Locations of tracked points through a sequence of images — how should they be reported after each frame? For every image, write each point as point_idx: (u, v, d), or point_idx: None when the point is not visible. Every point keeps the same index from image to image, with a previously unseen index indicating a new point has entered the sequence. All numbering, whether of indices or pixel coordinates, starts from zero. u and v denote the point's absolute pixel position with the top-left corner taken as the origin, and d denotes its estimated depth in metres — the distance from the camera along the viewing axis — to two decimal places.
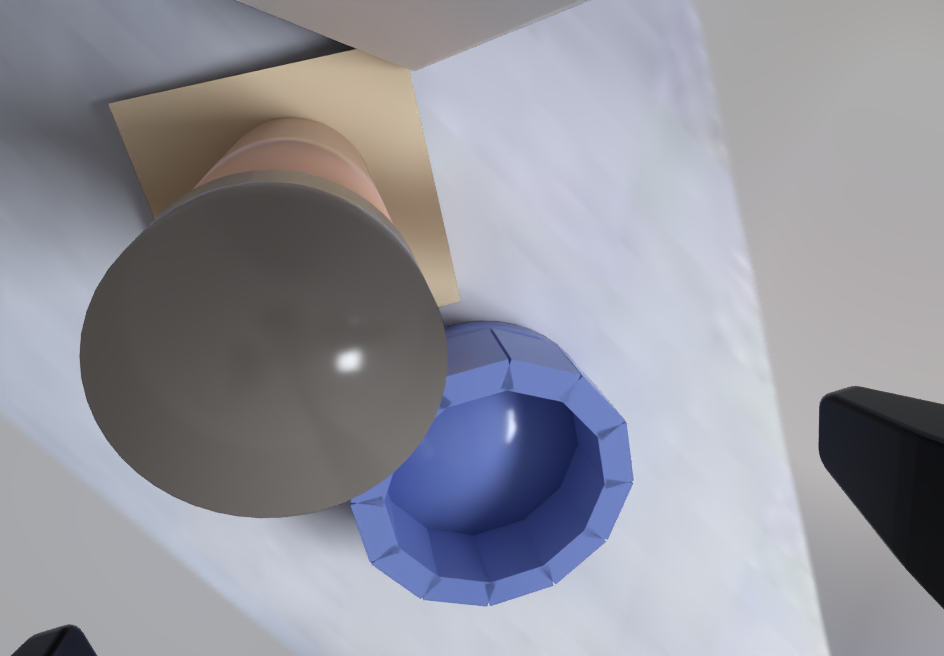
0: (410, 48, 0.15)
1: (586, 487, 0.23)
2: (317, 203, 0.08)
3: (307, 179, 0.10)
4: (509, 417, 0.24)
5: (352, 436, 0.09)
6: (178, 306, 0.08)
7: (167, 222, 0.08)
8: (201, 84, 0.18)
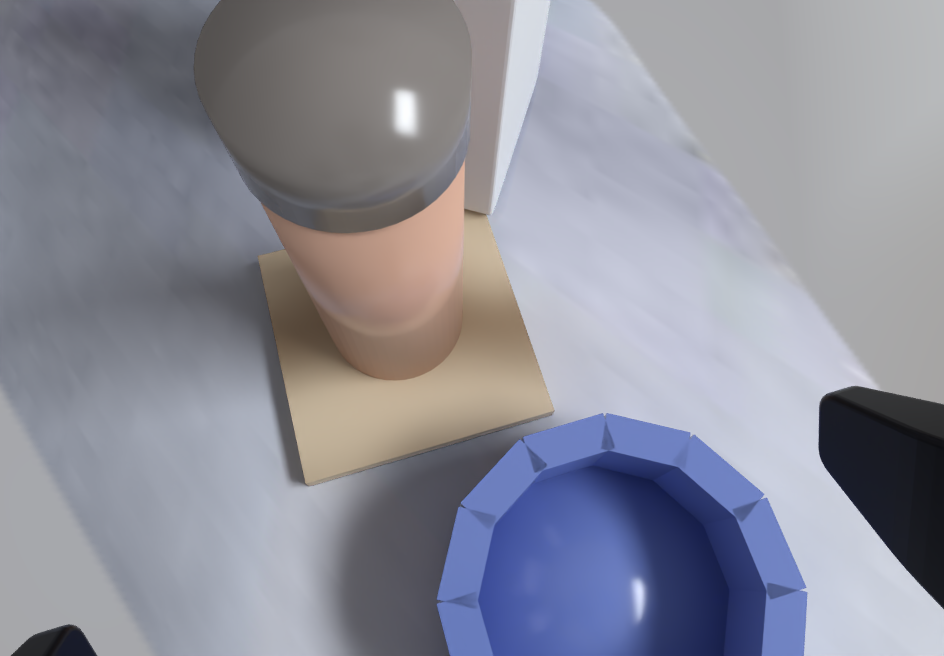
0: (475, 124, 0.20)
1: (749, 621, 0.18)
2: None
3: None
4: (630, 546, 0.20)
5: (393, 102, 0.11)
6: (271, 10, 0.12)
7: None
8: None
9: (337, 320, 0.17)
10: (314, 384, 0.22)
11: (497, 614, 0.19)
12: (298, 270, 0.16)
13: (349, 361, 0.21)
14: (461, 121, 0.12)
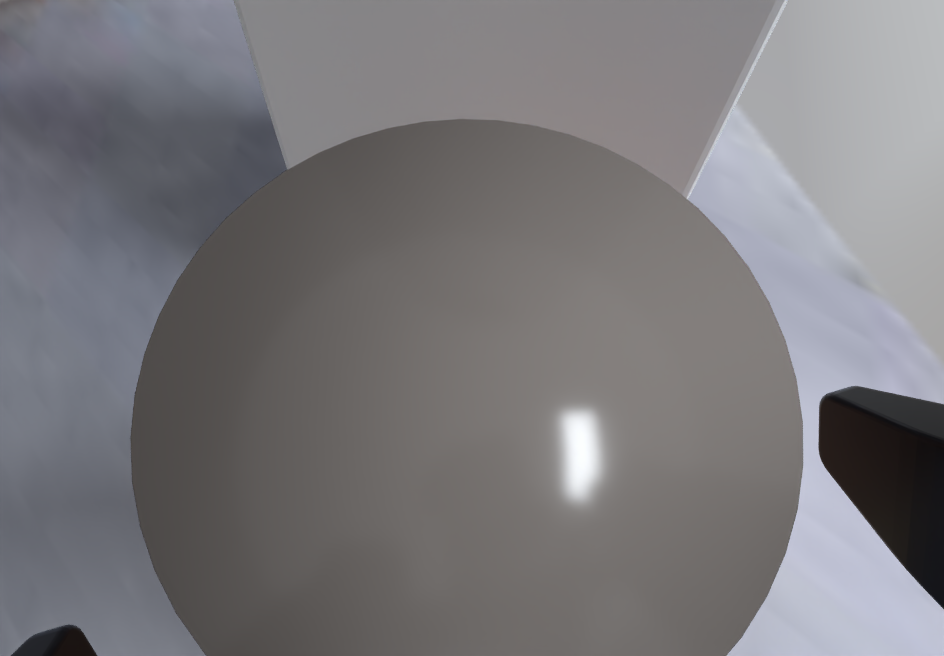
0: None
1: None
2: (533, 128, 0.06)
3: None
4: None
5: (627, 538, 0.04)
6: (317, 271, 0.05)
7: (322, 153, 0.05)
8: None
9: None
10: None
11: None
12: None
13: None
14: None
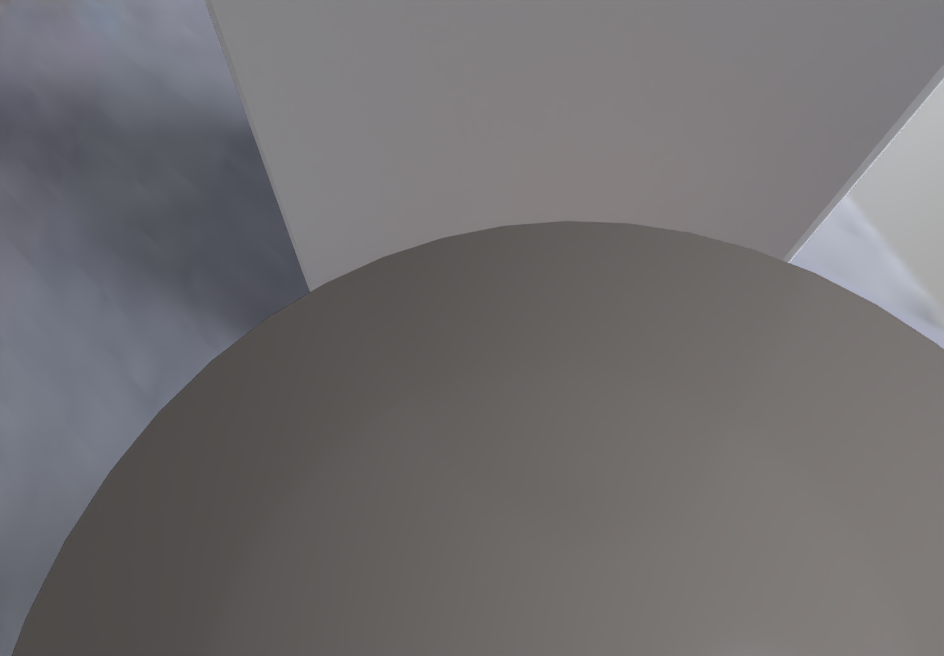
0: None
1: None
2: (688, 236, 0.03)
3: None
4: None
5: None
6: (323, 521, 0.03)
7: (329, 285, 0.03)
8: None
9: None
10: None
11: None
12: None
13: None
14: None
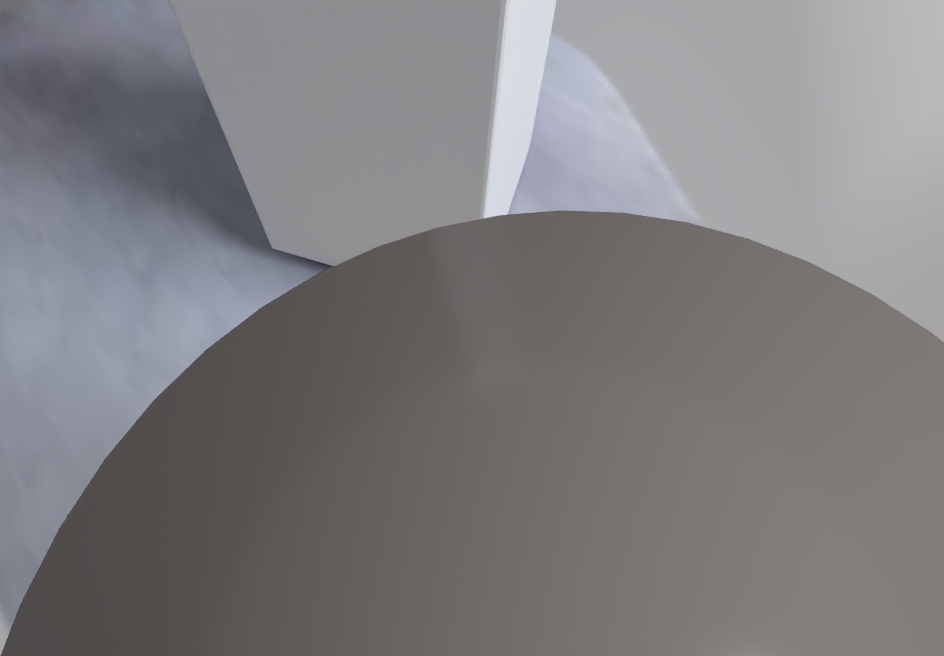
0: None
1: None
2: (683, 226, 0.03)
3: None
4: None
5: None
6: (318, 509, 0.03)
7: (325, 274, 0.03)
8: None
9: None
10: None
11: None
12: None
13: None
14: None
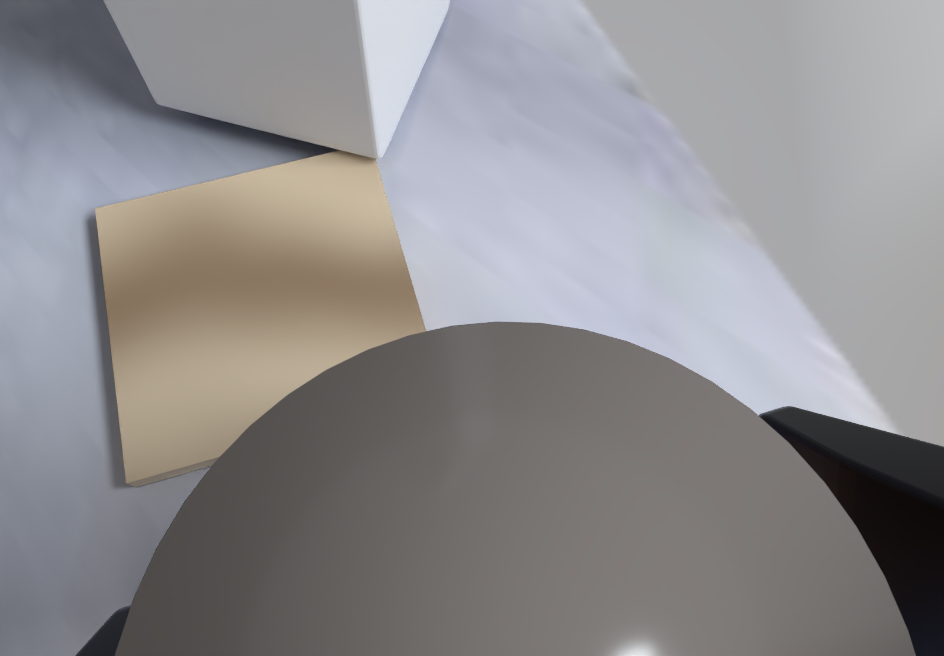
0: (332, 30, 0.16)
1: None
2: (582, 332, 0.05)
3: None
4: None
5: None
6: (325, 535, 0.04)
7: (330, 371, 0.05)
8: (182, 189, 0.19)
9: None
10: (148, 361, 0.18)
11: None
12: None
13: None
14: None
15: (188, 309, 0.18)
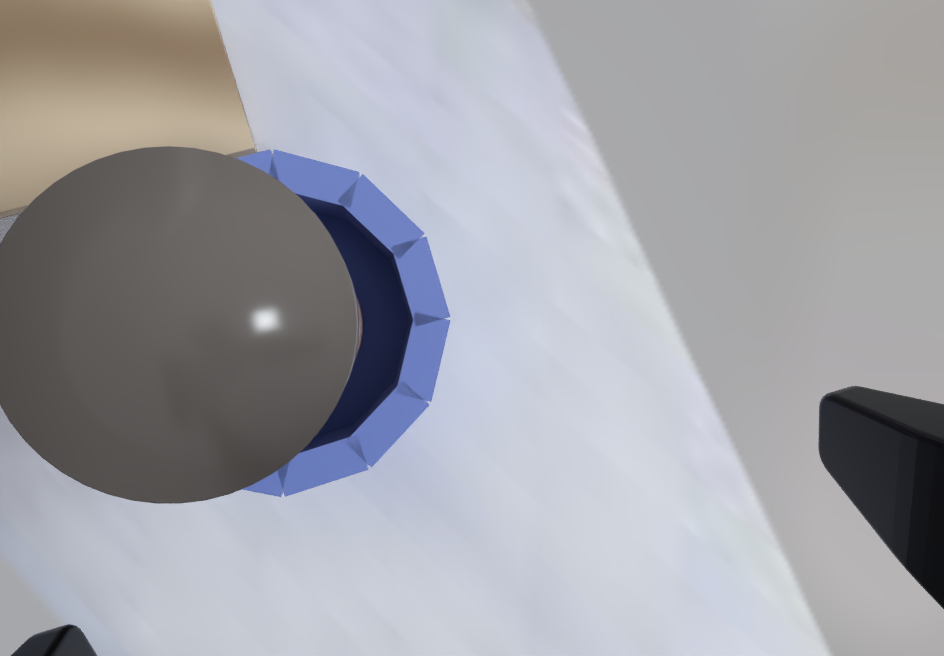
0: None
1: (405, 345, 0.20)
2: (218, 153, 0.09)
3: None
4: None
5: (257, 401, 0.09)
6: (81, 254, 0.09)
7: (76, 171, 0.09)
8: None
9: None
10: None
11: None
12: None
13: None
14: None
15: (11, 61, 0.20)
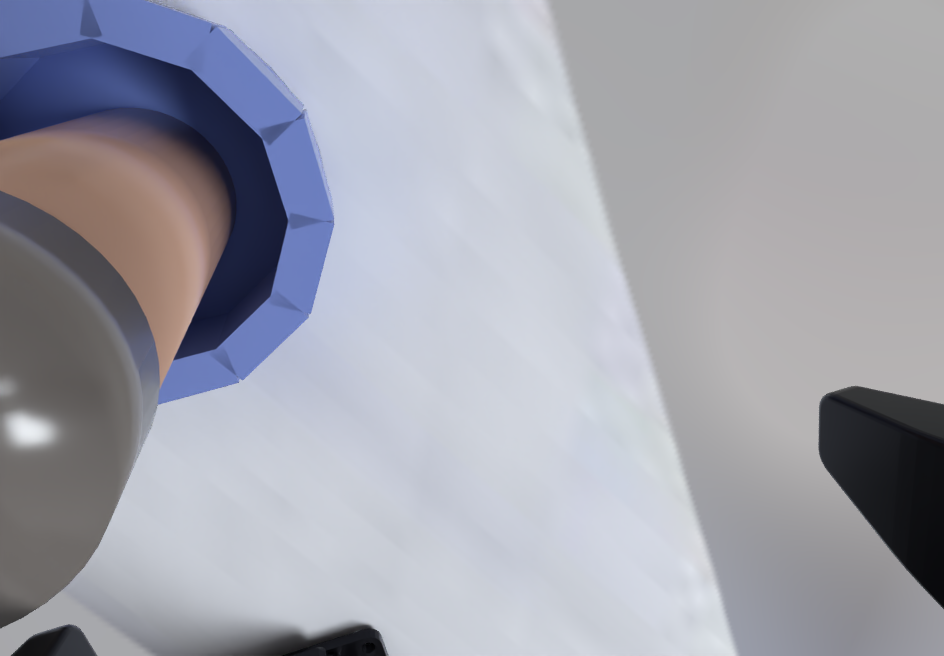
0: None
1: (282, 242, 0.17)
2: None
3: None
4: None
5: None
6: None
7: None
8: None
9: None
10: None
11: None
12: None
13: None
14: None
15: None
